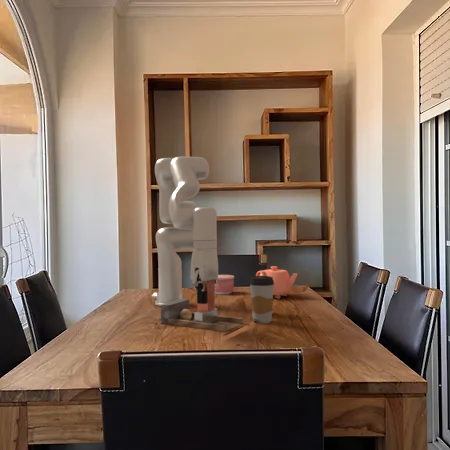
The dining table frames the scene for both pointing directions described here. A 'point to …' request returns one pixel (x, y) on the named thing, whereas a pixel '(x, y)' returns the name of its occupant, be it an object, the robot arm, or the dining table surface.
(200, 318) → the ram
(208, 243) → the robot arm
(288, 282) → the teapot
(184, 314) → the walnut
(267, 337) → the dining table surface
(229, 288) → the container
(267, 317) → the coffee cup
